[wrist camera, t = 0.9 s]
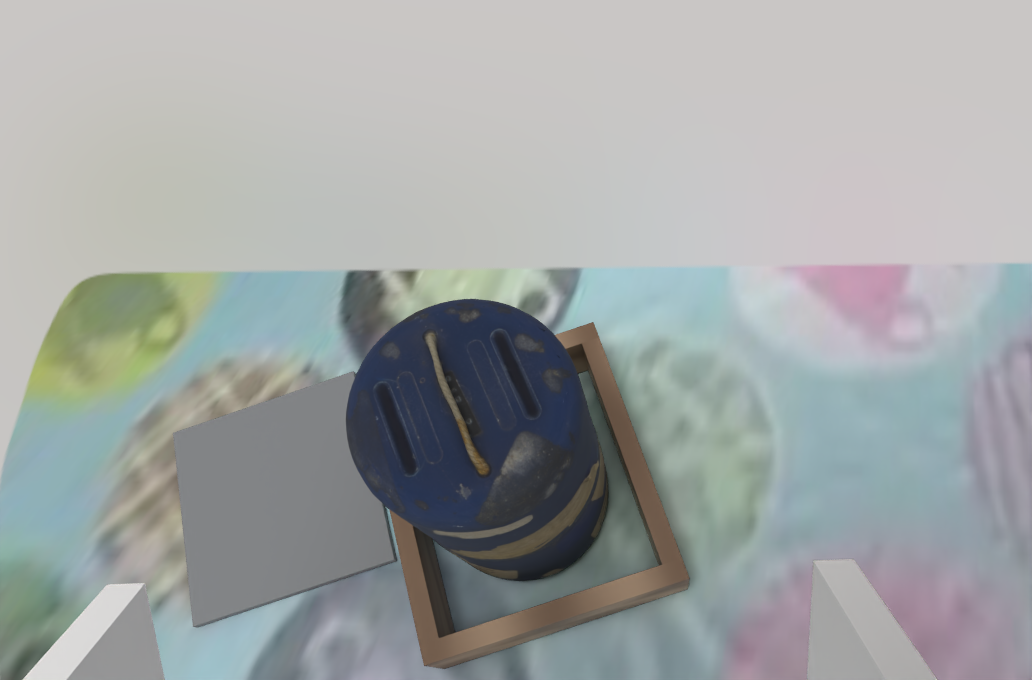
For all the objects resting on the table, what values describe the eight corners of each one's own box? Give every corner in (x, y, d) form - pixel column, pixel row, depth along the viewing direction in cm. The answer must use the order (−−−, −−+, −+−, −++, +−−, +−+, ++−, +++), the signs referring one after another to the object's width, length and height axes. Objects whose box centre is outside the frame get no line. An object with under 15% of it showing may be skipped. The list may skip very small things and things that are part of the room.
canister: (595, 405, 48) (557, 251, 31) (626, 570, 44) (602, 490, 27) (436, 435, 48) (320, 300, 32) (453, 599, 44) (330, 540, 28)
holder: (598, 350, 49) (593, 322, 45) (687, 589, 43) (689, 578, 39) (387, 421, 49) (365, 399, 46) (444, 668, 43) (423, 665, 39)
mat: (356, 374, 51) (353, 371, 51) (396, 561, 46) (394, 559, 45) (177, 435, 51) (173, 432, 51) (197, 627, 46) (193, 626, 46)
